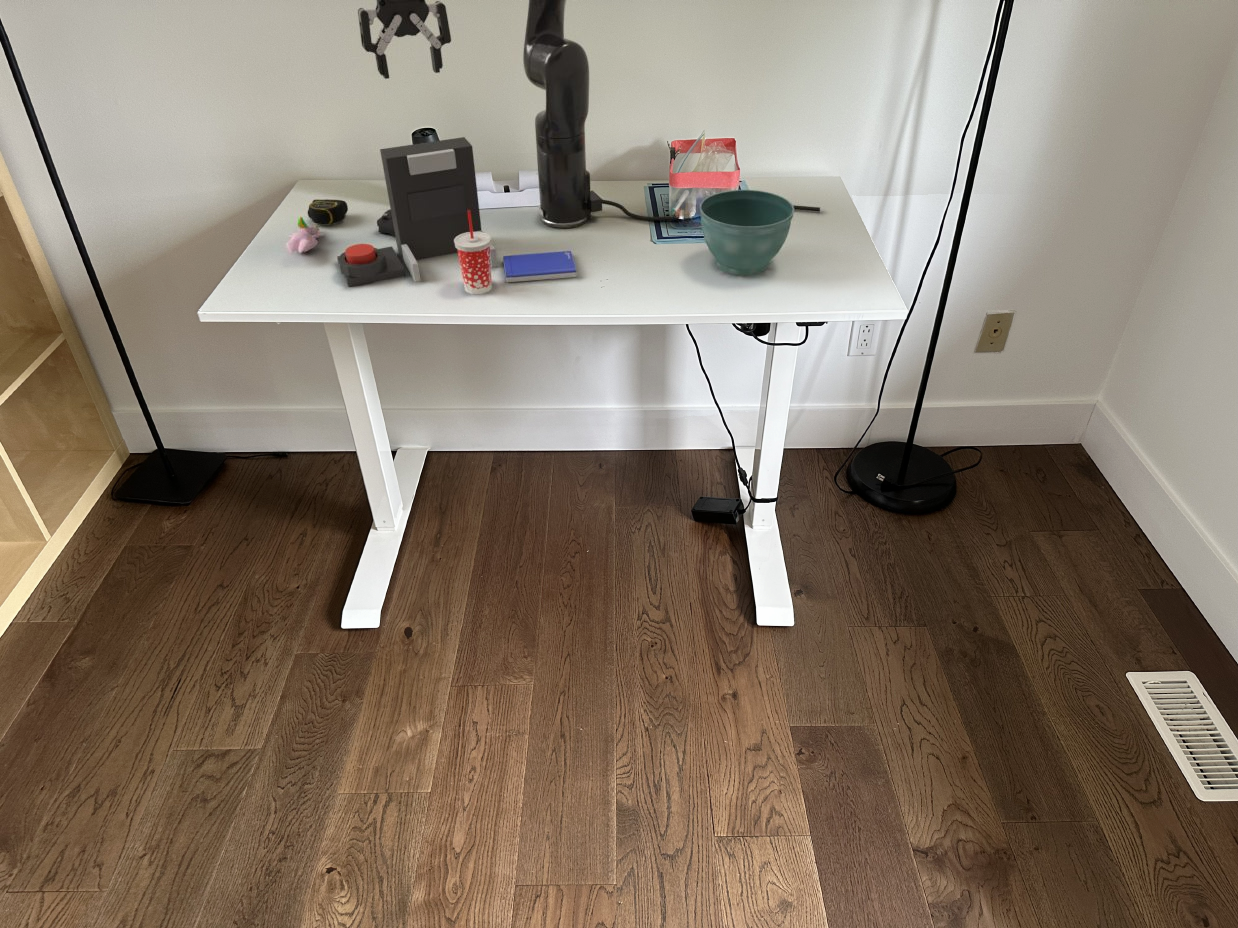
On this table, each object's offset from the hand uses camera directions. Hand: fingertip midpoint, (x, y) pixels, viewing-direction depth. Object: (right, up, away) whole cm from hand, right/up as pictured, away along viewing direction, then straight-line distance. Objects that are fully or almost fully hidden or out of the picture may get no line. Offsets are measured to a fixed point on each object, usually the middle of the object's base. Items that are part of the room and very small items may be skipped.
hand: (411, 74), depth 145 cm
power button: (-10, -29, +7) cm, 32 cm away
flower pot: (+57, -29, +11) cm, 65 cm away
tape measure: (-23, -17, +27) cm, 40 cm away
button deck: (-10, -31, +10) cm, 34 cm away
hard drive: (+21, -31, +10) cm, 38 cm away
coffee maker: (+3, -28, +14) cm, 31 cm away
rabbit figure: (-24, -25, +17) cm, 39 cm away
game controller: (-8, -20, +24) cm, 32 cm away
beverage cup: (+10, -35, +5) cm, 37 cm away
